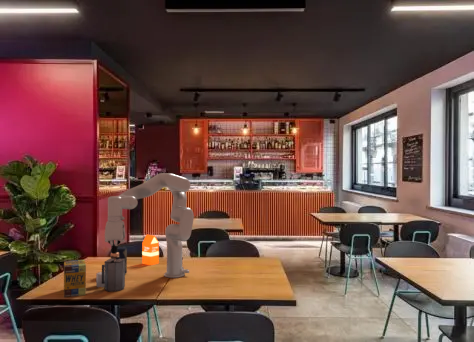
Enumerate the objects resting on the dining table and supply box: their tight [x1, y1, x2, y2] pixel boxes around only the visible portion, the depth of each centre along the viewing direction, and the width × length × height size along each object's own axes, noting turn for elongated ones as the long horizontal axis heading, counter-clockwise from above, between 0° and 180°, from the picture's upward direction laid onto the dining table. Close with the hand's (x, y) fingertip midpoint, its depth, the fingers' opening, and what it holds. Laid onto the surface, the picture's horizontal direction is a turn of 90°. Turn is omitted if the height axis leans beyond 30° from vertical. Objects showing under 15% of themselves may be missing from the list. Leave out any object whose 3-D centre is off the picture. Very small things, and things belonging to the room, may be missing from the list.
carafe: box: [101, 258, 126, 293], centre depth 215 cm, size 12×10×16 cm
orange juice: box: [141, 234, 160, 266], centre depth 278 cm, size 8×9×20 cm
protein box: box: [63, 259, 87, 298], centre depth 209 cm, size 10×15×16 cm
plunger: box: [110, 252, 119, 262], centre depth 215 cm, size 7×7×13 cm
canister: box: [110, 245, 128, 275], centre depth 246 cm, size 10×10×18 cm
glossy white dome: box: [95, 271, 105, 288], centre depth 221 cm, size 7×7×7 cm
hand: (114, 252), depth 215 cm, fingers closed
